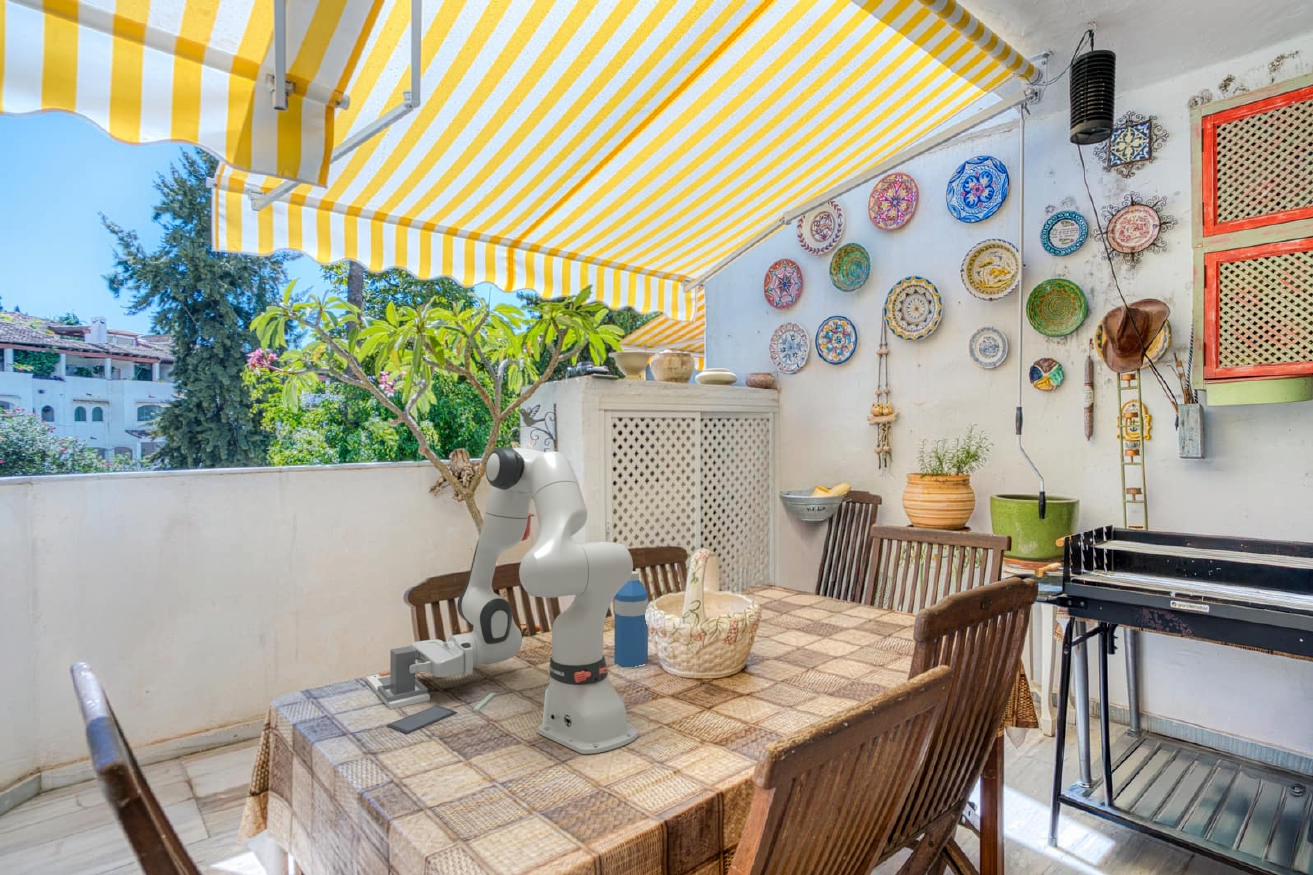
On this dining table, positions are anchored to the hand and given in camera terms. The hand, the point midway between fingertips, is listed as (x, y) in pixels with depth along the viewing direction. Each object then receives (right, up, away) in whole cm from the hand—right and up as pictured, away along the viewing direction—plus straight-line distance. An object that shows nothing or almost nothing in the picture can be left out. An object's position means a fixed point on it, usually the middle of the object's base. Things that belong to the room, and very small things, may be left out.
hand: (402, 663), depth 157 cm
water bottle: (+54, -9, +25) cm, 60 cm away
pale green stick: (+21, -8, -4) cm, 23 cm away
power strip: (-3, -8, +4) cm, 9 cm away
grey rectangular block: (0, -7, 0) cm, 7 cm away
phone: (+9, -9, -13) cm, 18 cm away
